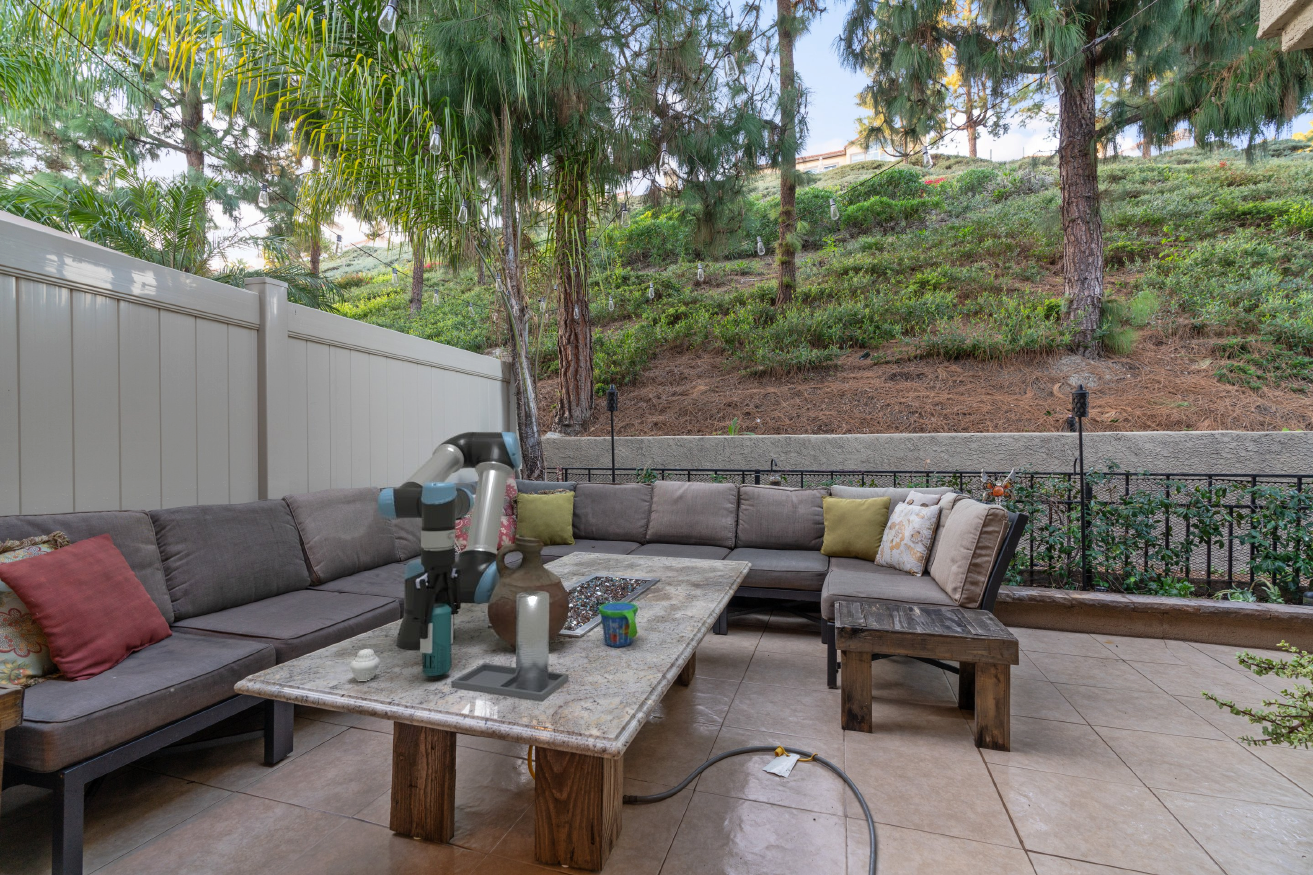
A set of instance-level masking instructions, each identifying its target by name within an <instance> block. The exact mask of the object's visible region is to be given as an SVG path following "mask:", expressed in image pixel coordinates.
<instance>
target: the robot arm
mask: <svg viewBox="0 0 1313 875" xmlns="http://www.w3.org/2000/svg"><path fill="white" fill-rule="evenodd" d="M521 464H522V452H521V445H520V440H519V438H518V436H517V434H516V433H515V432H510V431H504V430H503V431H501V432H500V431H467V432H462V433H459V434H457V435H454V436H452V437H450V438H447V439H446V440H444V441H443V442H441V443H440V444H439V445H438V446H437V447H435V449H434V450H433V452H432V456H431V457H430V458H429V459H428V460H427V461H425V463H424V464H422V466H420V467H419V469H417V470H416V471H415V472H414V473H413V474H412V475H411V476H410V477H409V478H407V479H406V480H405V481H404V482H403V483H402V484H401V485H400V486H399V487H398V488H395V487H391V488H385V489H384V488H383V490H382V491H380V493H379V495H378V497H377V502H376V503H377V511H378V513H379V515H380V516H381V517H383V518H385V519H395V520H396V519H397V520H398V519H421V530H420V531H421V532H420V534H421V535H420V537H421V538H420V547H421V548H423V549H422V550H421V551H420V558H416V559H414V560H411V561H409V562H408V563H406V565H405V569H404V578H403V580H404V581H403V582H404V583H403V584H404V587H403V590H404V591H403V593H404V594H403V595H404V597H403V599H404V600H403V605H404V606H403V607H404V608H403V617H402V619H401V620H402V621H401V624H400V626H399V630H398V632H397V635H396V646H397V647H398V648H400V649H405V650H419V651H420V652H419V653H422V654H423V653H432V629H433V623H430V619H431V615H432V611H433V606H434V604H447V605H448V606H449V607H450V608H451V609H452V611H451V638H452V639H451V643H452V644H453V643H454V640H455V638H456V630H455V615H458V614H459V612H460V609H461V608H462V604H476V605H481V604H489V600H490V597H491V595H492V592H493V590H494V589H495V587H496V585H497V583H498V581H499V573H498V571H497V568H496V555H497V552H498V550H497V549H498V542H499V537H500V536H499V535H500V530H501V523H502V516H503V509H504V502H505V496H506V490H507V484H508V479H510V478H512V476H513V475H514V470H515V469H516V470H517V469H519V468H520V467H521ZM463 469H474V470H475V471H474V472H476V474H477V475H478V479H477V485H476V490H475V496H473V494H472V492H470V491H469V490H468V489H466V488H462V487H460V486H459V487H457V486H456V484H455V482H451V481H446V480H447V479H449V477H450V476H451V475H453V474H454V473H457V472H459V471H460V470H463ZM471 511H472V513H471V519H470V523H469V530H468V535H467V540H466V546H465V548H463V549H462V550H461V551H459V554H458V560H456V549H455V547H454V546H456V527H457V526H456V525H457V524H456V520H457V519H458V518H462V517H465V516H467V515H468V514H469V513H470V512H471ZM439 590H445V591H446V592H447V600H445V601H441V602H435V598H436V594H437V593H438V592H439Z"/></svg>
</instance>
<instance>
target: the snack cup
mask: <svg viewBox="0 0 1313 875" xmlns="http://www.w3.org/2000/svg"><path fill="white" fill-rule="evenodd" d="M638 611H639V607H638V605H637V604H635V603H632V602H625V601H622V602H621V601H619V602H618V601H616V602H607V603H603V604H601V605H599V608H598V613H599V614H600V617H601V618H600V622H601V625H602V630H603V638H604V644H606V645H607V646H610V647H613V648H614V647H615V648H618V647H619V648H622V647H627V646H629V645H630V644H632V643H633V638H635V637H636V636H637V635H638V629H637V622H636V616H637V613H638Z"/></svg>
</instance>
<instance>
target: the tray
mask: <svg viewBox="0 0 1313 875" xmlns="http://www.w3.org/2000/svg"><path fill="white" fill-rule="evenodd" d="M568 682H569V673H562V672H555V671H554V672H553V671H549V678H548V687H547V688H546V689H545V690H543V691H542V692H534V691H527V690H520V689H516V666H509V665H503V664H495V663H486V662H483V663H481V664H479V665H477V666H476V667H474V668H472V669H470V670H469V671H467V672H465V673H463V674H461V675H460V676H458V677H456V678H455V679H452V680H451V683H450V684H451V685H450V686H451V687H450V688H451V689H457V690H463V691H469V692H476V693H482V694H483V693H484V694H489V695H497V696H504V697H508V698H509V697H510V698H516V699H523V700H530V701H535V702H544V701H545V700H546V699H548V697H550V696H551V695H552V694H554V693H555V692H557V690H558V689H560V688H561V687H562V686H564V685H565V684H566V683H568Z"/></svg>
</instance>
